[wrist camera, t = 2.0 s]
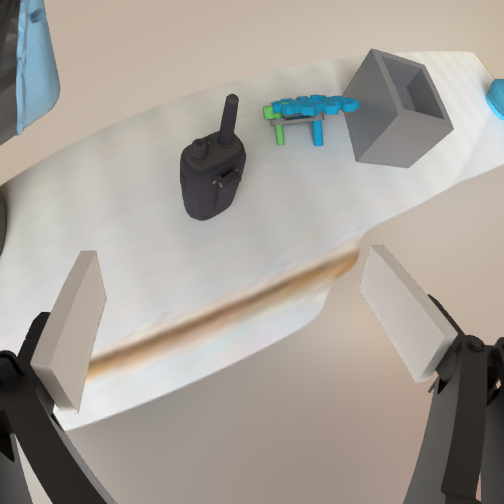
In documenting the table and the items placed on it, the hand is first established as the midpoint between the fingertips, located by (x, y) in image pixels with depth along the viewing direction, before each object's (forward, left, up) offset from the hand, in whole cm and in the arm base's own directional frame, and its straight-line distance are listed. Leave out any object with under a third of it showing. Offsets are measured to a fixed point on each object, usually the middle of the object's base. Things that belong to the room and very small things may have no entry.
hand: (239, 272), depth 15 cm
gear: (+10, +20, -16) cm, 28 cm away
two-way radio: (0, +9, -16) cm, 18 cm away
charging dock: (+21, +20, -15) cm, 33 cm away
